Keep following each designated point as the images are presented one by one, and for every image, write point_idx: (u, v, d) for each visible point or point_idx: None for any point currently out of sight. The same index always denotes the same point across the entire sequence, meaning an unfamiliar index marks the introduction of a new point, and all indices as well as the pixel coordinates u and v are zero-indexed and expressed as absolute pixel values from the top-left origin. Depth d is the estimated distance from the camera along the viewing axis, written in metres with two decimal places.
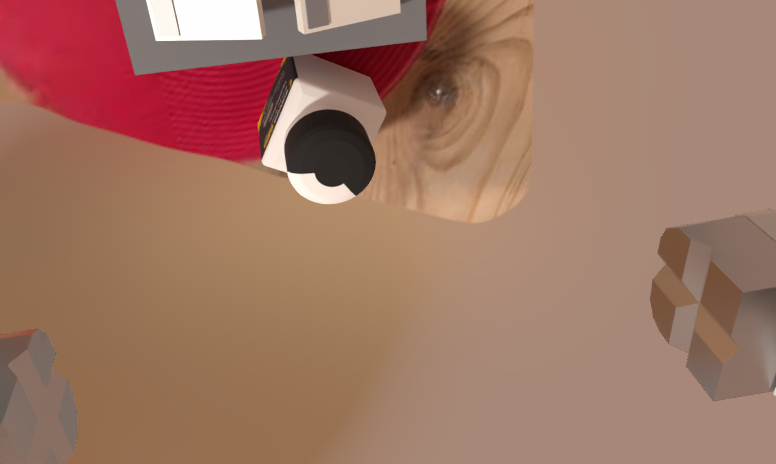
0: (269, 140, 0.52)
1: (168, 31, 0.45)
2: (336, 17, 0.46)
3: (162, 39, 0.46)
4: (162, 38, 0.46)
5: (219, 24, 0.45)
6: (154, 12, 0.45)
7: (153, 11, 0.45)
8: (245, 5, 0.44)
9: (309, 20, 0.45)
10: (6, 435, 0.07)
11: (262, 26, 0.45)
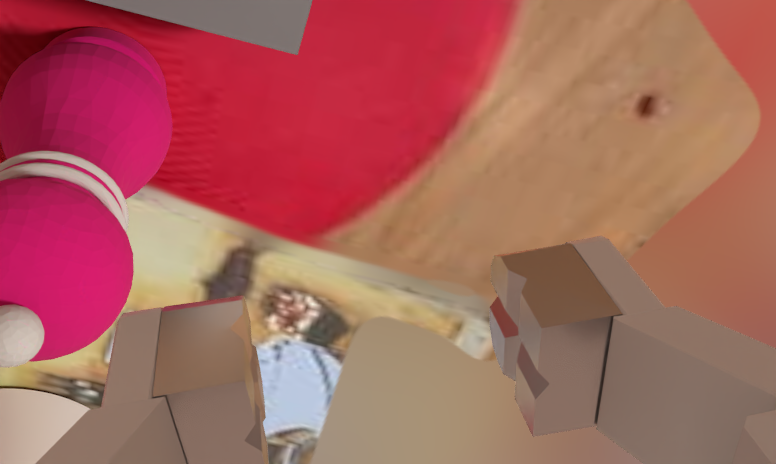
0: None
1: None
2: None
3: None
4: None
5: None
6: None
7: None
8: None
9: None
10: (247, 392, 0.07)
11: None
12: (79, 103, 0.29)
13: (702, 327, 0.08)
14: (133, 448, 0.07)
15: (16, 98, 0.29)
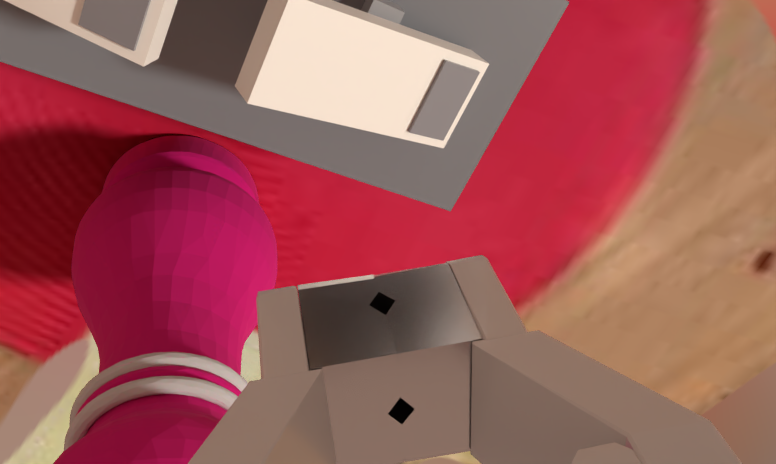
0: None
1: (455, 77, 0.21)
2: None
3: (477, 62, 0.22)
4: (476, 64, 0.22)
5: (359, 57, 0.19)
6: (453, 115, 0.22)
7: (453, 115, 0.22)
8: (283, 79, 0.19)
9: None
10: (398, 365, 0.08)
11: (272, 12, 0.18)
12: (194, 260, 0.23)
13: (557, 353, 0.07)
14: (300, 417, 0.07)
15: (110, 243, 0.23)
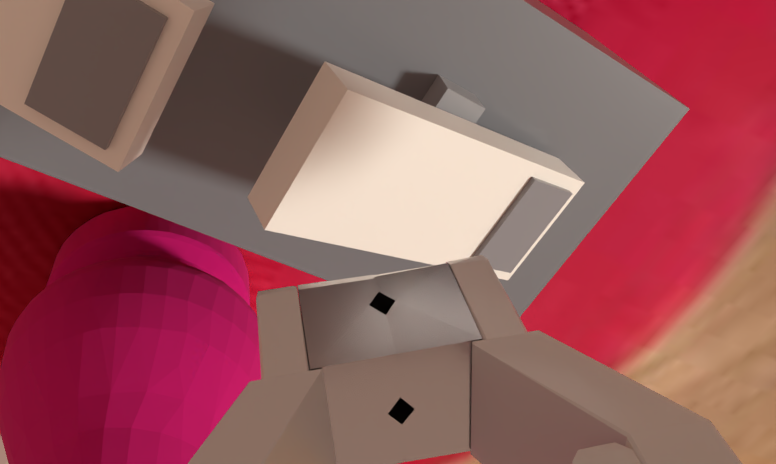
0: None
1: (542, 199, 0.16)
2: None
3: (571, 180, 0.16)
4: (569, 183, 0.16)
5: (425, 173, 0.14)
6: (529, 243, 0.17)
7: (528, 243, 0.17)
8: (319, 200, 0.13)
9: (143, 45, 0.11)
10: (398, 365, 0.08)
11: (316, 108, 0.12)
12: (164, 404, 0.17)
13: (557, 353, 0.07)
14: (300, 417, 0.07)
15: (51, 368, 0.17)
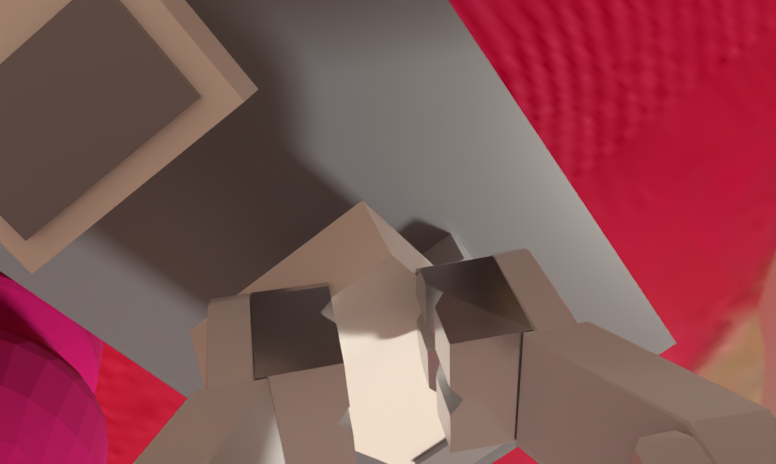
0: None
1: None
2: None
3: None
4: None
5: None
6: (482, 453, 0.14)
7: (481, 451, 0.14)
8: None
9: (149, 121, 0.07)
10: (345, 374, 0.08)
11: (333, 257, 0.09)
12: None
13: (610, 344, 0.07)
14: (242, 428, 0.07)
15: None
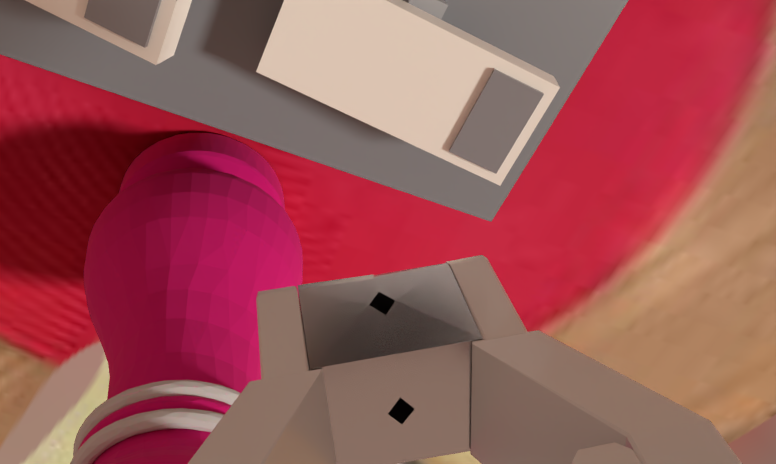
0: None
1: (509, 93, 0.18)
2: None
3: (542, 82, 0.18)
4: (540, 84, 0.18)
5: (383, 44, 0.18)
6: (509, 144, 0.19)
7: (512, 145, 0.19)
8: (295, 53, 0.18)
9: None
10: (398, 365, 0.08)
11: None
12: (213, 273, 0.21)
13: (557, 353, 0.07)
14: (300, 417, 0.07)
15: (123, 252, 0.21)
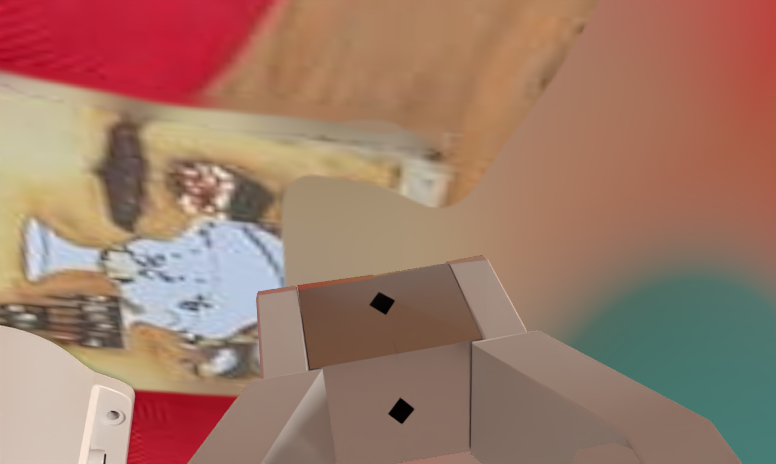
0: None
1: None
2: None
3: None
4: None
5: None
6: None
7: None
8: None
9: None
10: (398, 365, 0.08)
11: None
12: None
13: (557, 354, 0.07)
14: (300, 417, 0.07)
15: None
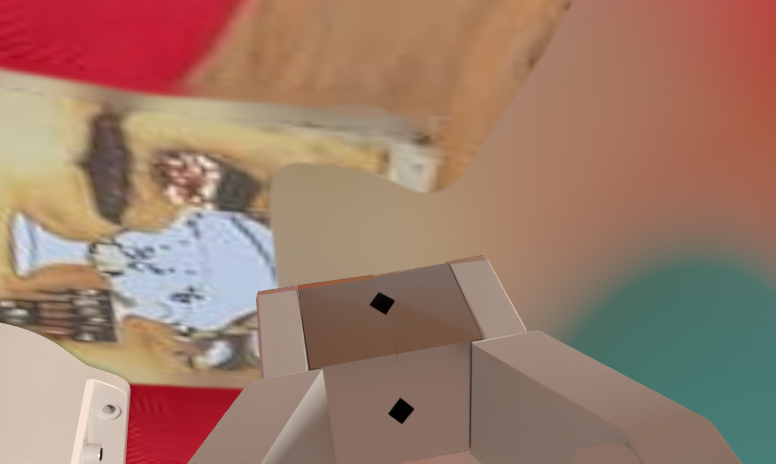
0: None
1: None
2: None
3: None
4: None
5: None
6: None
7: None
8: None
9: None
10: (398, 365, 0.08)
11: None
12: None
13: (557, 354, 0.07)
14: (300, 417, 0.07)
15: None
